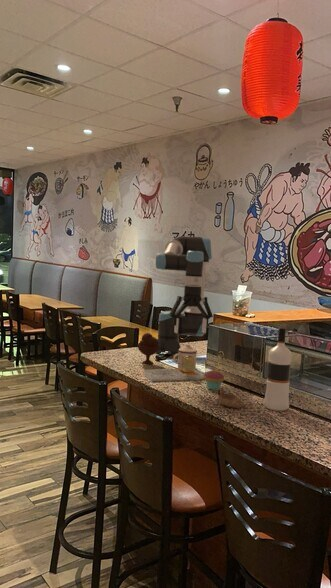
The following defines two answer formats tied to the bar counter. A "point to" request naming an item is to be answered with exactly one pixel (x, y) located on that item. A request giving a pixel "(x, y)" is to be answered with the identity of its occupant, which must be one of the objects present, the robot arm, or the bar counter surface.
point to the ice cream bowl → (148, 347)
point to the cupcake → (214, 378)
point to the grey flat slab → (171, 375)
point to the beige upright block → (187, 364)
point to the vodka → (278, 375)
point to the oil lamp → (228, 399)
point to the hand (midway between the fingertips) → (190, 332)
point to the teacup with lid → (183, 352)
